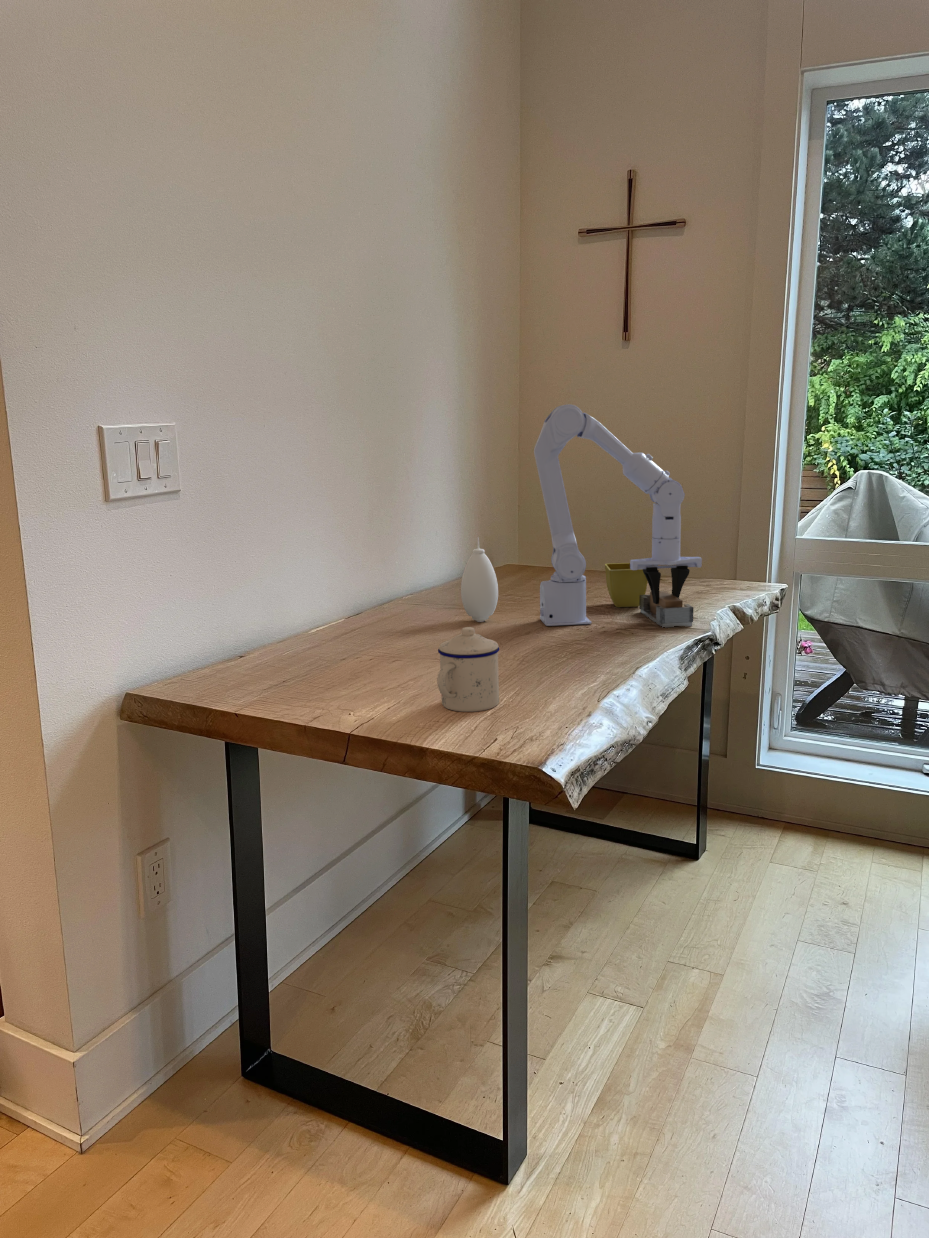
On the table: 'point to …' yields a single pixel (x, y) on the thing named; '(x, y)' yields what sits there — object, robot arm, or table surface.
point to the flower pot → (625, 584)
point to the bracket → (667, 613)
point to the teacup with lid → (468, 672)
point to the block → (665, 601)
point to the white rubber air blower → (479, 586)
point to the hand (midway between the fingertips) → (665, 602)
